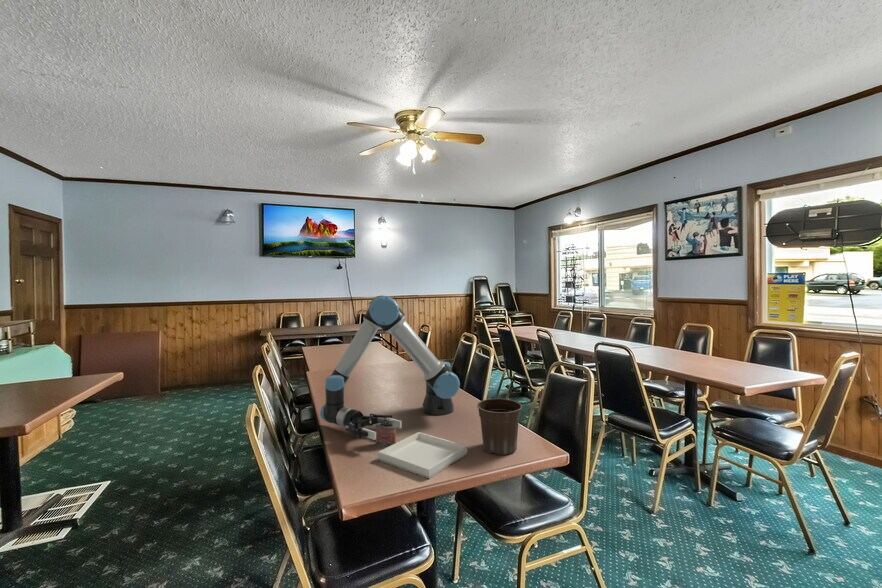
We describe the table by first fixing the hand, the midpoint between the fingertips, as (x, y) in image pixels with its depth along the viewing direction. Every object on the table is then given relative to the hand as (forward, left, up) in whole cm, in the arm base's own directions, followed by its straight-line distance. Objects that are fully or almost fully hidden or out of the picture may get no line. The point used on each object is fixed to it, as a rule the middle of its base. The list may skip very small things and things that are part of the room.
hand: (388, 430), depth 143 cm
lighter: (0, -2, -6) cm, 6 cm away
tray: (0, +16, -6) cm, 17 cm away
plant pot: (-22, +34, -6) cm, 41 cm away
